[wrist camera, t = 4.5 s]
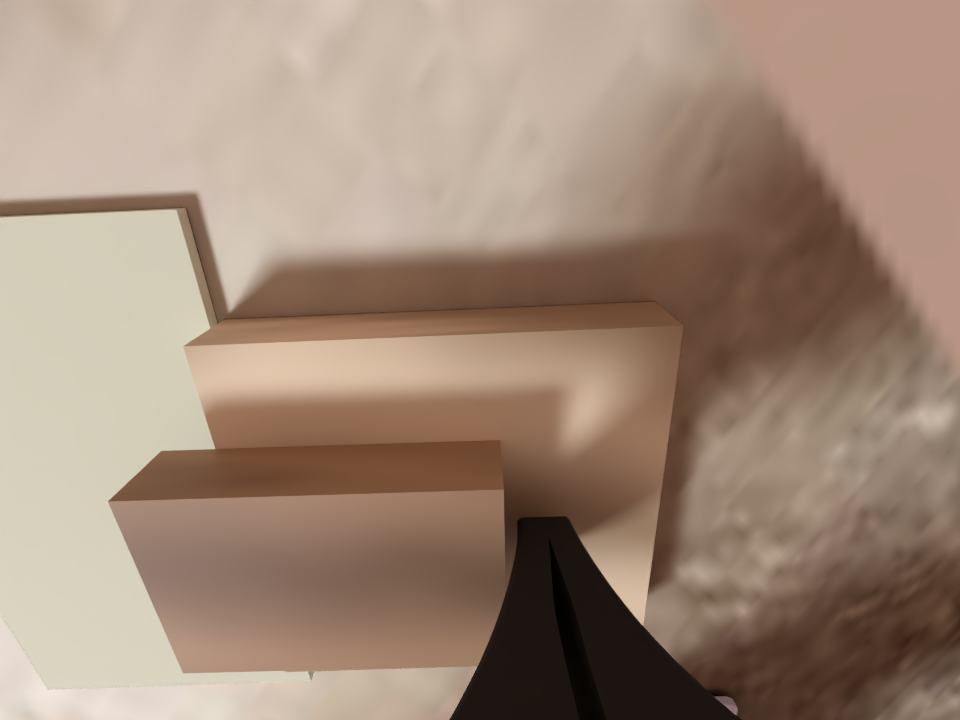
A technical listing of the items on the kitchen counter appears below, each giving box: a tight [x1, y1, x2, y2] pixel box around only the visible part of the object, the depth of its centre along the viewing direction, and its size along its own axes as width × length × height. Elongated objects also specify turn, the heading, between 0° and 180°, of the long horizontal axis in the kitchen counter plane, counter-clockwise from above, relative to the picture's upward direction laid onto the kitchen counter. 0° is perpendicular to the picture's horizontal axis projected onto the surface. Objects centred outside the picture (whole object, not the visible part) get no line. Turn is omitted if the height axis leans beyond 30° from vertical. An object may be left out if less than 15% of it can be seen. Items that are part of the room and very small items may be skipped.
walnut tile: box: [108, 440, 506, 673], centre depth 13 cm, size 6×9×2 cm, turn 92°
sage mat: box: [0, 208, 314, 690], centre depth 16 cm, size 18×11×1 cm, turn 3°
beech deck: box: [183, 302, 684, 672], centre depth 15 cm, size 12×12×2 cm
